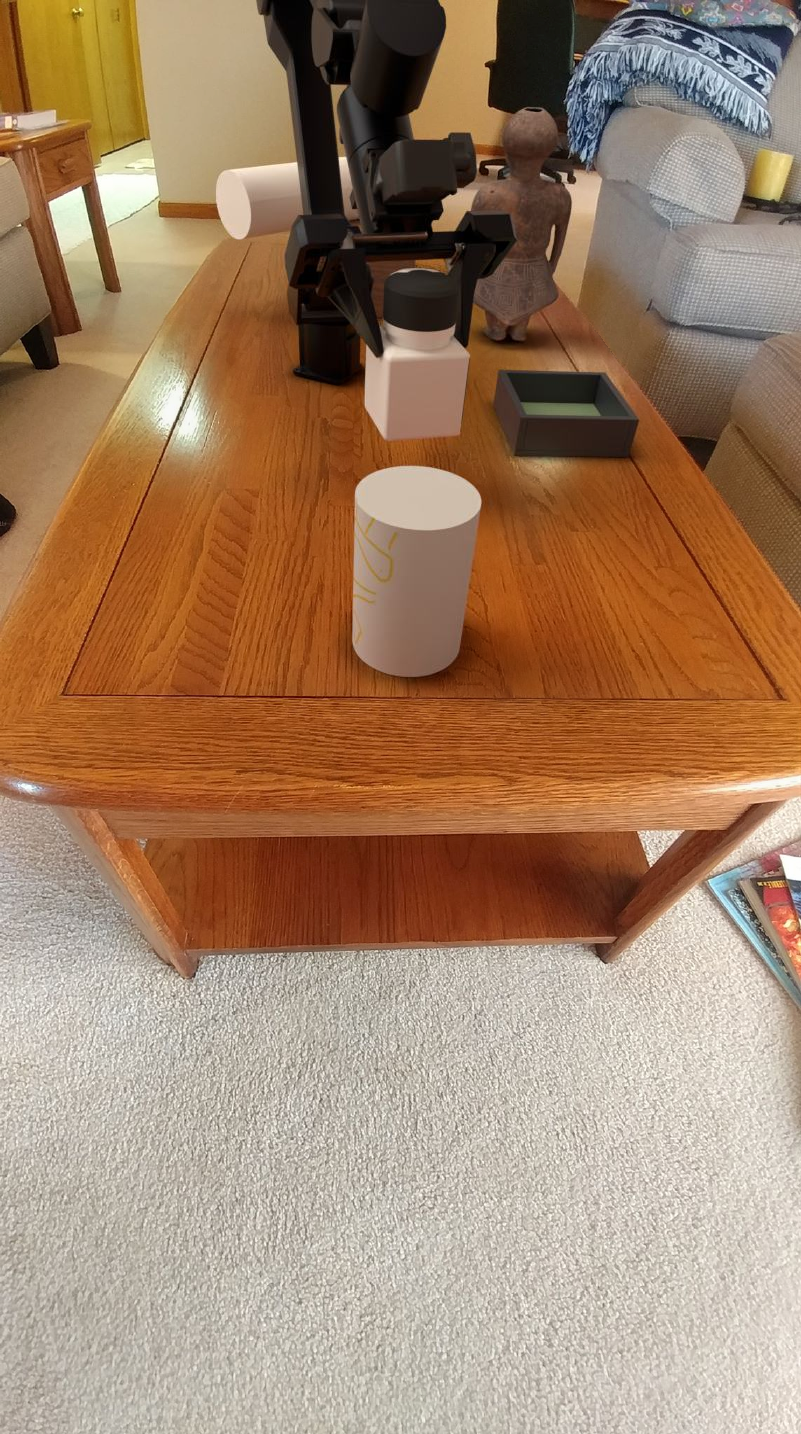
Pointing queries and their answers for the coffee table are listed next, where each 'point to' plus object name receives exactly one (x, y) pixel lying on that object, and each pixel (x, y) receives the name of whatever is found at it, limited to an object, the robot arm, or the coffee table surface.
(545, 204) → the clay figurine
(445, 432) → the medicine bottle
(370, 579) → the yellow-doodled white cylinder
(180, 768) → the coffee table surface
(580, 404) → the holder
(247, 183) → the cylindrical container
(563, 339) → the coffee table surface
